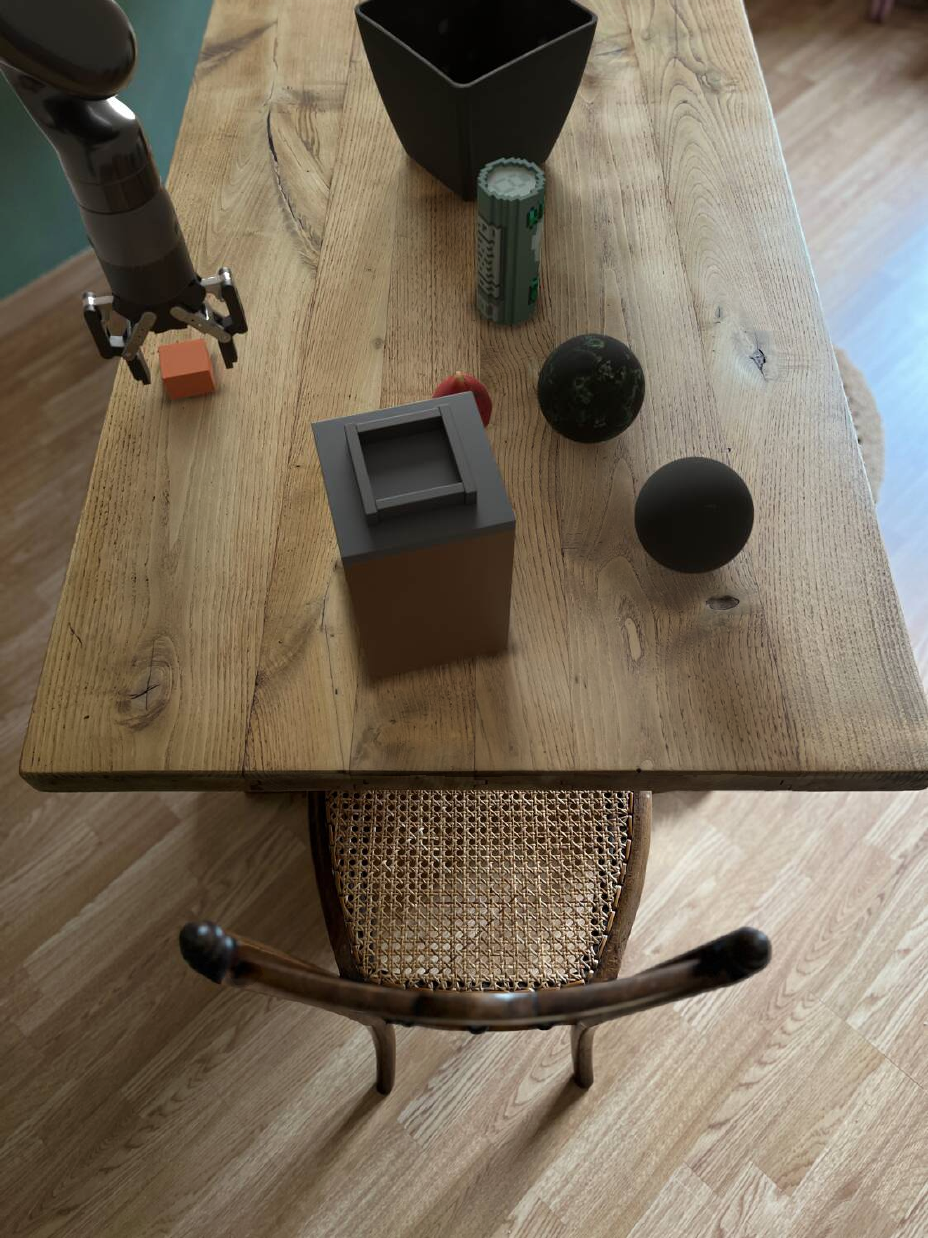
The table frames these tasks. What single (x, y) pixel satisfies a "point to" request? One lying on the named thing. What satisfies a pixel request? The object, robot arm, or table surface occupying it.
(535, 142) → the flower pot
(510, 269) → the can
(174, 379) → the block
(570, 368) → the decorative stone
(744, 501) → the black ball
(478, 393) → the onion
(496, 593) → the brown holder box
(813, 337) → the table surface
